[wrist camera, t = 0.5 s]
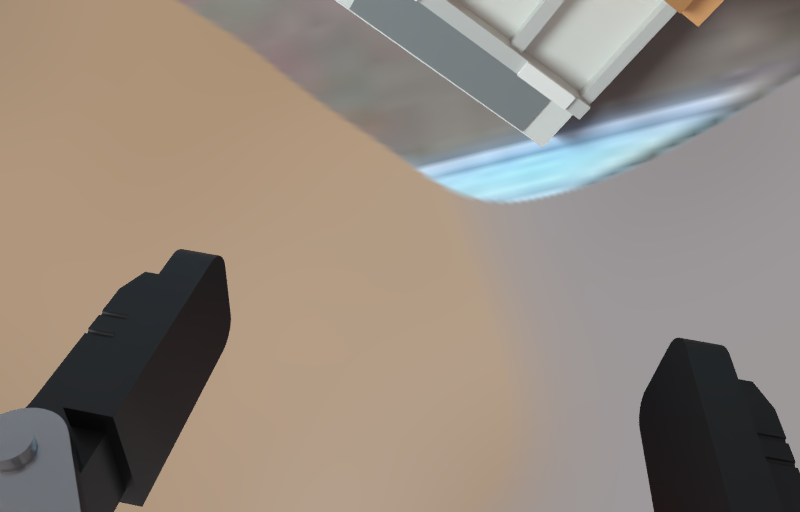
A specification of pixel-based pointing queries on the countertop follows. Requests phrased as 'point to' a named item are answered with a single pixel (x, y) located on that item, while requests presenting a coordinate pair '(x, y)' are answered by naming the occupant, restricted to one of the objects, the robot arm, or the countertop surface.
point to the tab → (695, 8)
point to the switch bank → (522, 49)
